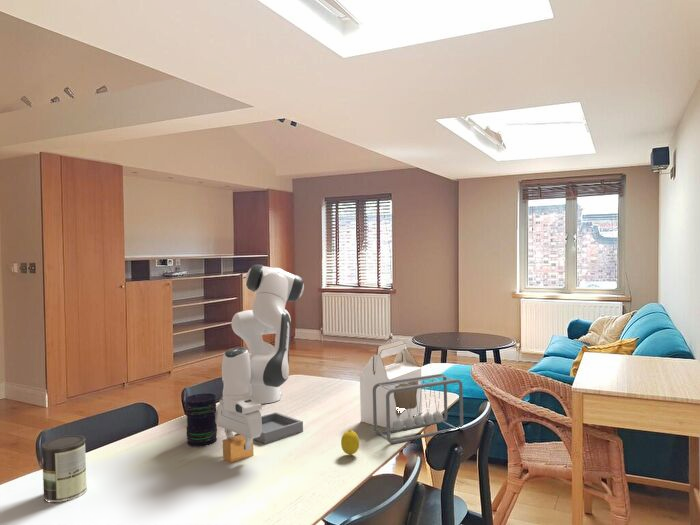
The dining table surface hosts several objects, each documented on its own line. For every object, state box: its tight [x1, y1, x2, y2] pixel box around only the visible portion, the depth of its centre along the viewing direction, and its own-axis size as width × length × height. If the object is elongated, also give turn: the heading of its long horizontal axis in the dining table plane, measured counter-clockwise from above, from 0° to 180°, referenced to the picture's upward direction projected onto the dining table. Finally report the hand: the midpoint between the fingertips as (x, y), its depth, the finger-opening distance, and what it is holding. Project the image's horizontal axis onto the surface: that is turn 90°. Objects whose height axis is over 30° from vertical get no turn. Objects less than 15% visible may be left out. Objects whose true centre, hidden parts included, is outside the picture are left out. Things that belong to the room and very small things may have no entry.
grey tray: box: [253, 411, 304, 445], centre depth 182 cm, size 16×16×4 cm
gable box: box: [359, 340, 423, 429], centre depth 194 cm, size 22×13×28 cm, turn 141°
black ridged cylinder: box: [185, 393, 218, 448], centre depth 174 cm, size 10×10×15 cm
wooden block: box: [222, 434, 254, 464], centre depth 160 cm, size 4×8×6 cm, turn 134°
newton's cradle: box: [372, 373, 464, 445], centre depth 177 cm, size 30×10×18 cm, turn 115°
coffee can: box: [40, 434, 88, 503], centre depth 138 cm, size 10×10×14 cm
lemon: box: [340, 429, 360, 457], centre depth 159 cm, size 6×6×8 cm
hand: (239, 446), depth 160 cm, fingers open, 8 cm apart
